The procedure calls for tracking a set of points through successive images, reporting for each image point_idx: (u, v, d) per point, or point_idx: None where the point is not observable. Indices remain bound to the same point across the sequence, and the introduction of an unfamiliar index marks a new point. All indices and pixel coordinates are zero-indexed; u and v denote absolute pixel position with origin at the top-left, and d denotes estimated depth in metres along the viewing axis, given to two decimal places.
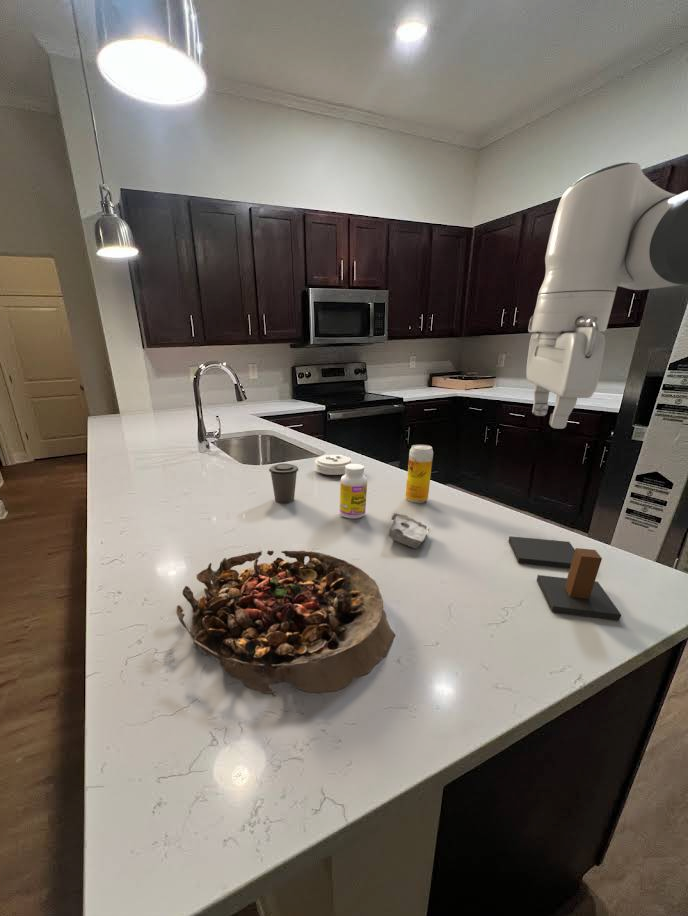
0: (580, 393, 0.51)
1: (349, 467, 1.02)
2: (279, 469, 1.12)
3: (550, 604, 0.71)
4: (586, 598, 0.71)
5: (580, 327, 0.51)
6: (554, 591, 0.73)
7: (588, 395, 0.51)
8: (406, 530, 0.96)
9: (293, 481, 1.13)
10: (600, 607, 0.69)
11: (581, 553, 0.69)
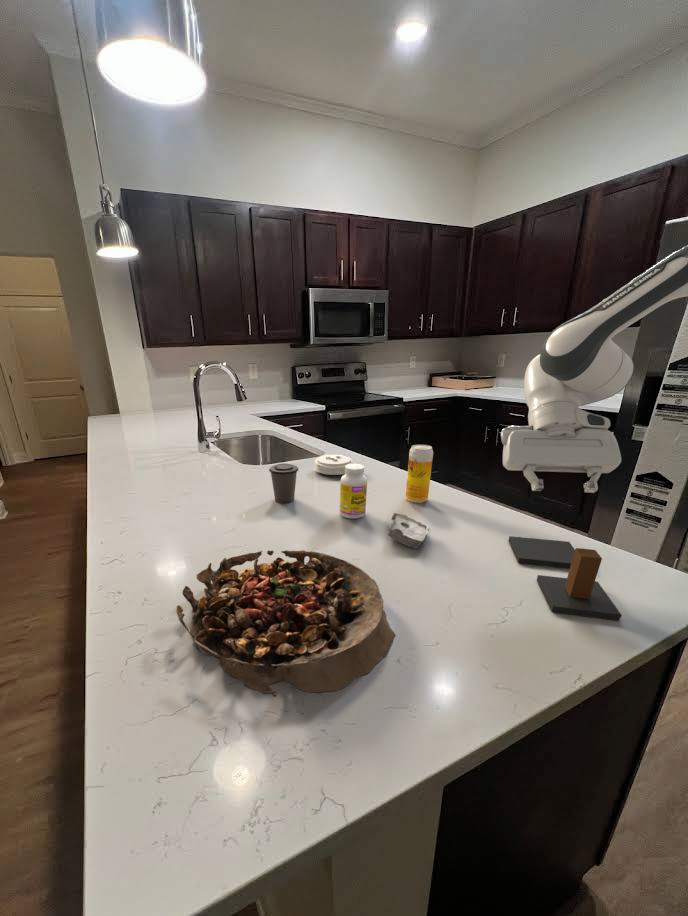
0: (506, 463, 0.81)
1: (349, 467, 1.02)
2: (279, 469, 1.12)
3: (550, 604, 0.71)
4: (586, 598, 0.71)
5: None
6: (554, 591, 0.73)
7: (510, 462, 0.80)
8: (406, 530, 0.96)
9: (293, 481, 1.13)
10: (600, 607, 0.69)
11: (581, 553, 0.69)
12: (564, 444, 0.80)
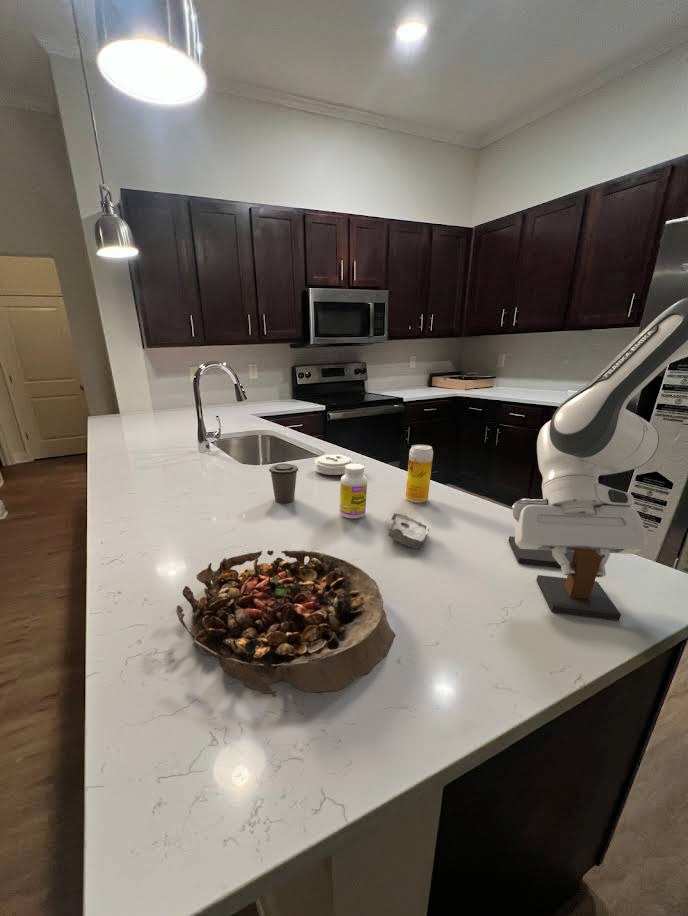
0: (519, 543, 0.73)
1: (349, 467, 1.02)
2: (279, 469, 1.12)
3: (549, 604, 0.71)
4: (586, 598, 0.71)
5: None
6: (554, 591, 0.73)
7: (523, 542, 0.72)
8: (406, 530, 0.96)
9: (293, 481, 1.13)
10: (600, 607, 0.69)
11: (581, 553, 0.69)
12: (583, 522, 0.72)
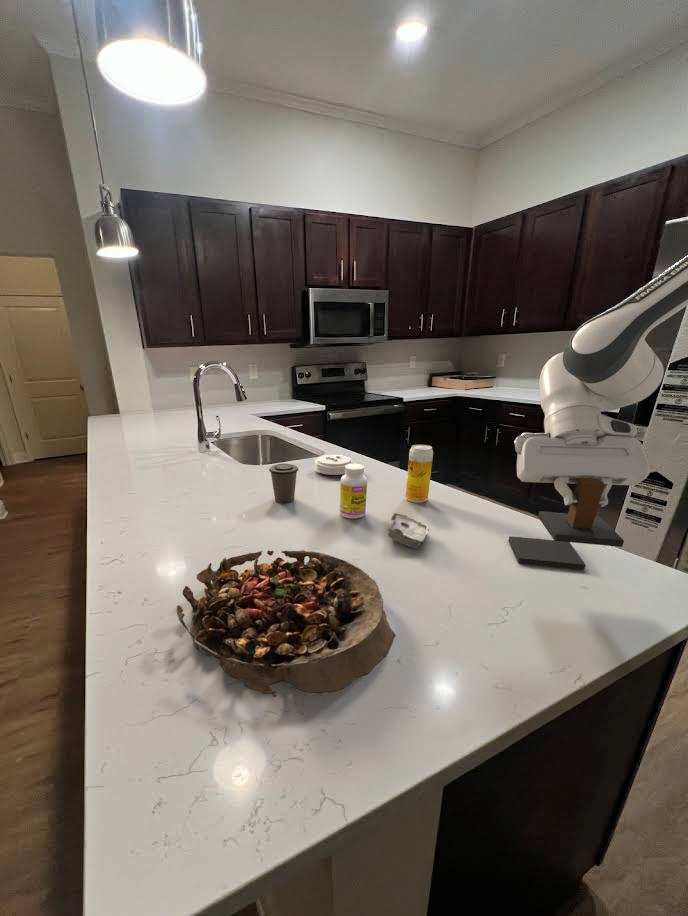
0: (521, 474, 0.73)
1: (349, 467, 1.02)
2: (279, 469, 1.12)
3: (552, 534, 0.70)
4: (588, 528, 0.71)
5: None
6: (556, 523, 0.73)
7: (525, 473, 0.72)
8: (406, 530, 0.96)
9: (293, 481, 1.13)
10: (603, 535, 0.69)
11: (584, 481, 0.69)
12: (585, 453, 0.72)
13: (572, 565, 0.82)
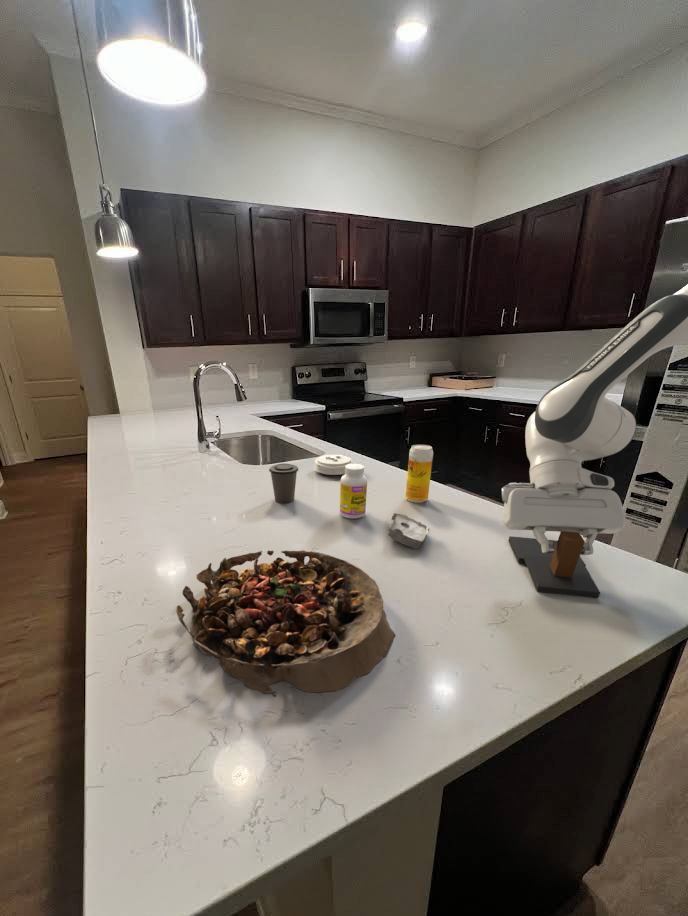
0: (507, 523, 0.79)
1: (349, 467, 1.02)
2: (279, 469, 1.12)
3: (535, 584, 0.76)
4: (569, 577, 0.76)
5: None
6: (540, 570, 0.78)
7: (511, 522, 0.78)
8: (406, 530, 0.96)
9: (293, 481, 1.13)
10: (582, 585, 0.74)
11: (566, 537, 0.74)
12: (567, 504, 0.77)
13: None
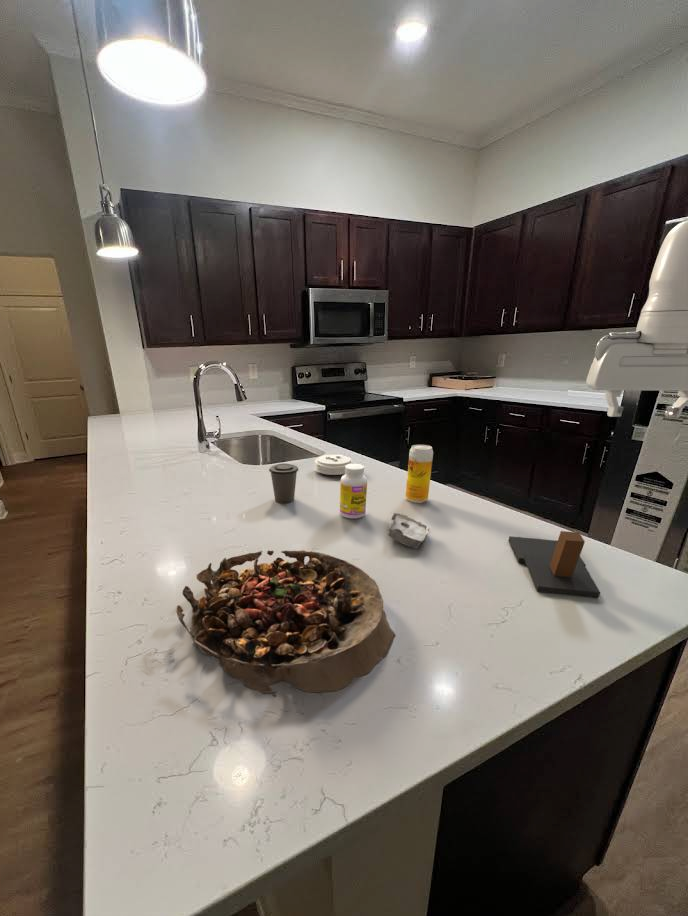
0: (590, 385, 0.73)
1: (349, 467, 1.02)
2: (279, 469, 1.12)
3: (535, 584, 0.76)
4: (569, 577, 0.76)
5: None
6: (540, 570, 0.78)
7: (594, 387, 0.72)
8: (406, 530, 0.96)
9: (293, 481, 1.13)
10: (582, 585, 0.74)
11: (566, 537, 0.74)
12: (668, 363, 0.69)
13: None
